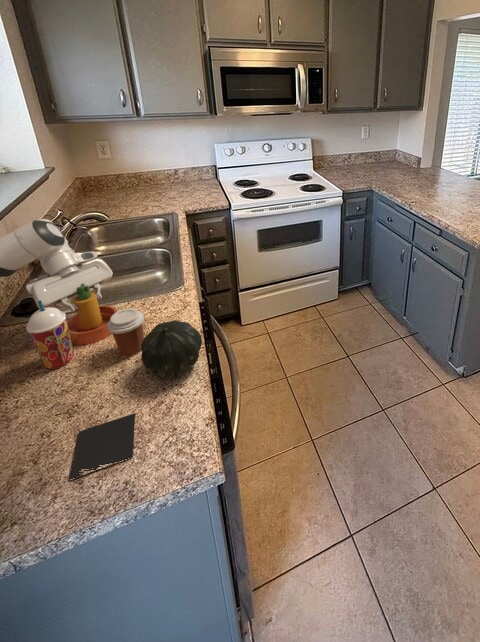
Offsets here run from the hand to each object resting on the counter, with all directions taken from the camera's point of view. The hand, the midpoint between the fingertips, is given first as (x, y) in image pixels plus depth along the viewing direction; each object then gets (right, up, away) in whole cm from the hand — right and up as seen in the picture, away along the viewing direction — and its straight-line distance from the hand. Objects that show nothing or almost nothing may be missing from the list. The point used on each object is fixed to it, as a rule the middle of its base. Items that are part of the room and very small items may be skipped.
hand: (88, 304), depth 106 cm
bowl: (0, -9, +4) cm, 10 cm away
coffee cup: (+15, -12, -4) cm, 20 cm away
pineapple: (-1, -6, +3) cm, 7 cm away
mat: (+24, -22, -30) cm, 44 cm away
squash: (+30, -14, -9) cm, 34 cm away
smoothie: (-2, -14, -8) cm, 16 cm away
